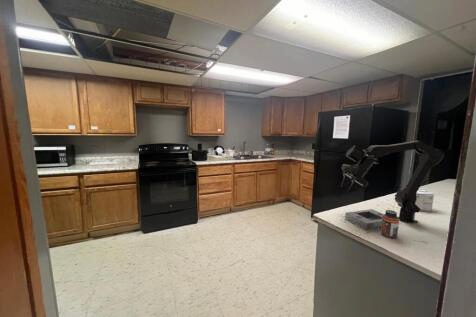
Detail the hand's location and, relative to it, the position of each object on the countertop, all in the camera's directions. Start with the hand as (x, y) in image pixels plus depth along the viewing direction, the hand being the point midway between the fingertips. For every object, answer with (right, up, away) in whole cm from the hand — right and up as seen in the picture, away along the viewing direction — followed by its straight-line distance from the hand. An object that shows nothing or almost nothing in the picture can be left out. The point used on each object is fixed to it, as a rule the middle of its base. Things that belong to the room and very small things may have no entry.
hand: (344, 189), depth 108 cm
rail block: (+9, -16, -6) cm, 19 cm away
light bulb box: (+51, -14, +12) cm, 54 cm away
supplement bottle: (+10, -18, -19) cm, 28 cm away
